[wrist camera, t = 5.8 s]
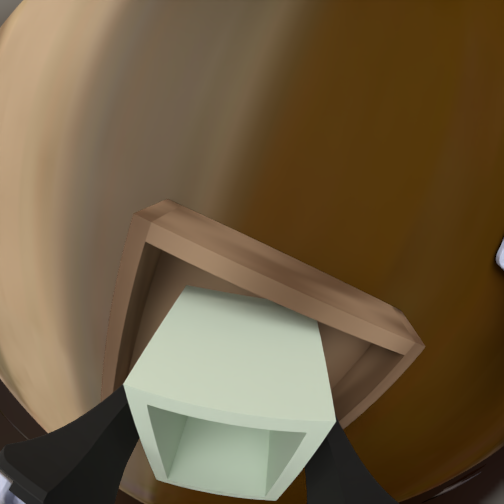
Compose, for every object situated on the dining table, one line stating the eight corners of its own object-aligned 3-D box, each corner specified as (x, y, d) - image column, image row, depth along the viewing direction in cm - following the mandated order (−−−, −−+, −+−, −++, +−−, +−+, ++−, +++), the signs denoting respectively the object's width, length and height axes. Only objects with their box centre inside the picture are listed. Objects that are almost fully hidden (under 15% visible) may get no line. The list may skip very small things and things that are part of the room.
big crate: (400, 310, 12) (425, 346, 9) (284, 437, 16) (283, 471, 13) (167, 199, 11) (133, 213, 8) (120, 373, 15) (100, 404, 12)
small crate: (313, 305, 11) (336, 421, 6) (279, 411, 14) (276, 500, 8) (186, 285, 11) (123, 383, 6) (186, 395, 14) (156, 479, 8)
